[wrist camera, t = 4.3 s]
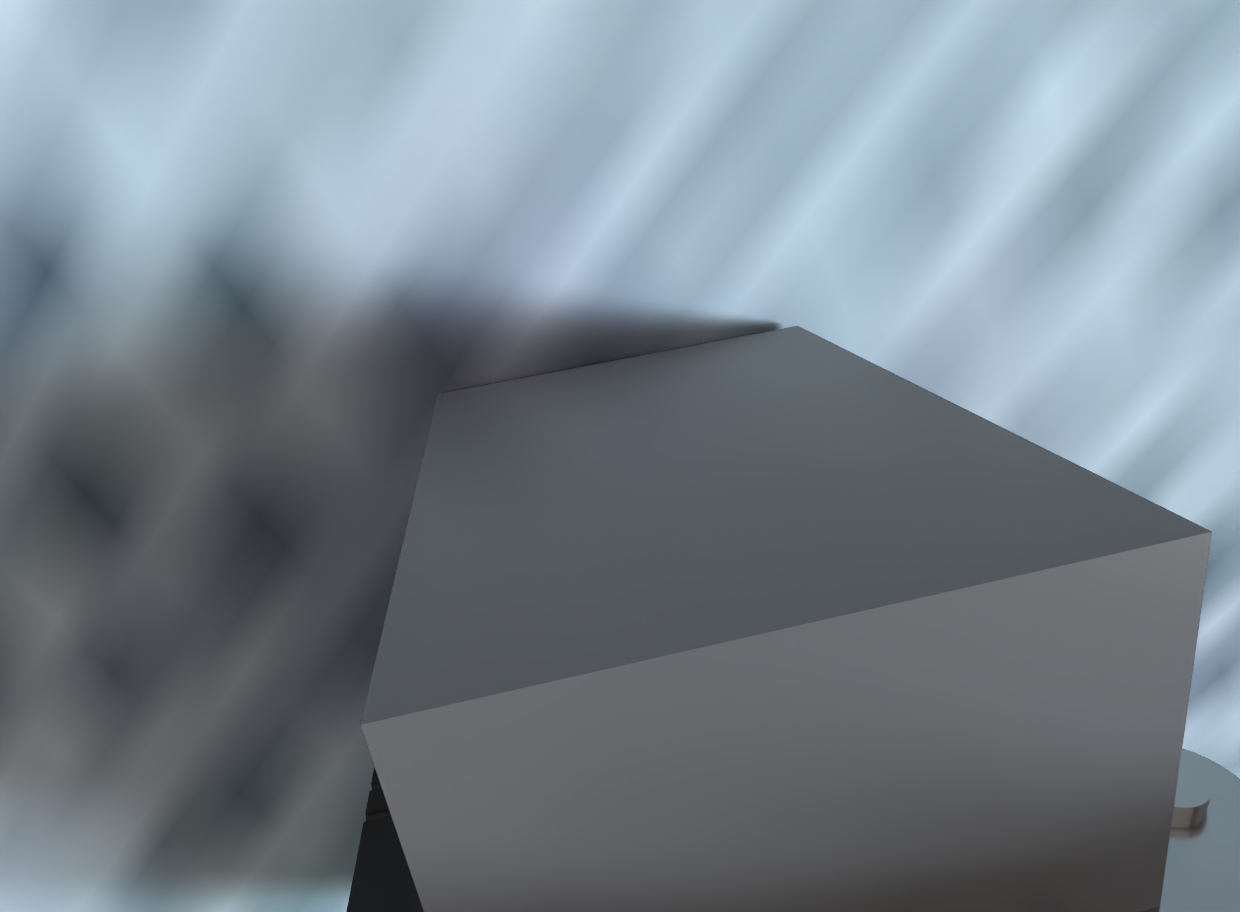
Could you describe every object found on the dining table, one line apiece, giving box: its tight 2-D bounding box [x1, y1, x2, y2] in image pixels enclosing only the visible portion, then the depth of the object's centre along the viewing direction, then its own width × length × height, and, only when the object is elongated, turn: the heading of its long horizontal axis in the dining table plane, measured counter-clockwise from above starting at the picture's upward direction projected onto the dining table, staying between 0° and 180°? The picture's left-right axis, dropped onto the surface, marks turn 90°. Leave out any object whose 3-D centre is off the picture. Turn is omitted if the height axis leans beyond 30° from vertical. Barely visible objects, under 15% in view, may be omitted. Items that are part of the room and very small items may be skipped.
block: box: [360, 326, 1212, 912], centre depth 8 cm, size 8×4×6 cm, turn 9°
